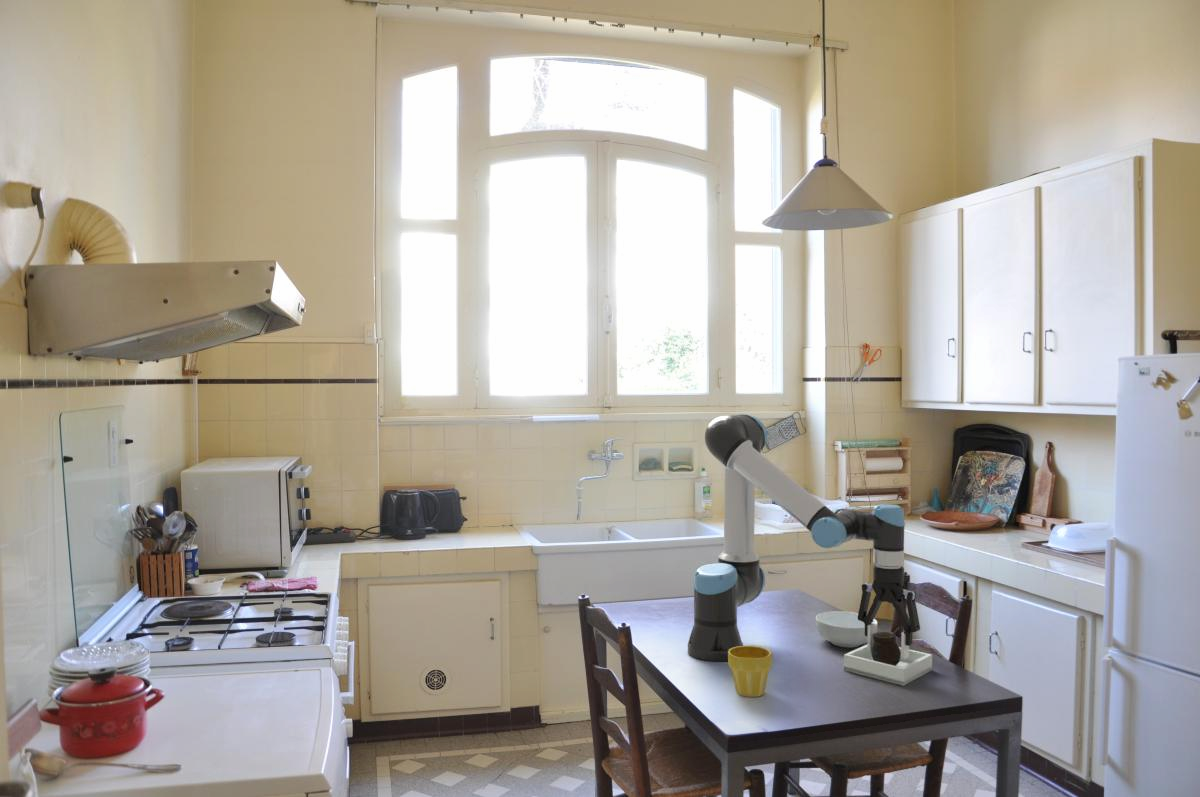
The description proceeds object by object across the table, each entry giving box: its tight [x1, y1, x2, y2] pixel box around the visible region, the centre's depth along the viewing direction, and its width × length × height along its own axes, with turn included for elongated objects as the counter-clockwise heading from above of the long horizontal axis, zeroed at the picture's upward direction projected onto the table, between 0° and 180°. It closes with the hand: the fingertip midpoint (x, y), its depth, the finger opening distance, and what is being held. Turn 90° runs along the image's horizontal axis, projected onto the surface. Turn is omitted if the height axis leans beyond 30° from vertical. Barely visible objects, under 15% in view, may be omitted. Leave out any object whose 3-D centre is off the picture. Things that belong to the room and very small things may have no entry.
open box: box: [843, 643, 933, 687], centre depth 219 cm, size 16×16×4 cm
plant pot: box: [727, 645, 773, 698], centre depth 204 cm, size 10×10×10 cm
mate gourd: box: [871, 626, 901, 666], centre depth 219 cm, size 7×8×10 cm
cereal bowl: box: [815, 610, 878, 648], centre depth 242 cm, size 17×17×7 cm
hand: (888, 653), depth 219 cm, fingers open, 8 cm apart
